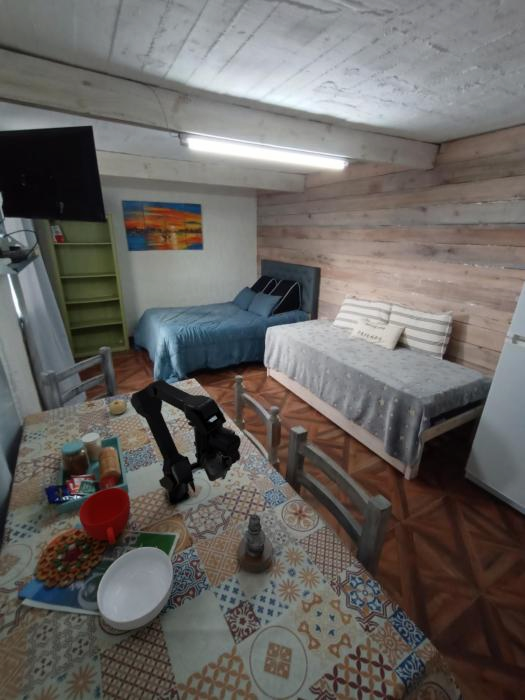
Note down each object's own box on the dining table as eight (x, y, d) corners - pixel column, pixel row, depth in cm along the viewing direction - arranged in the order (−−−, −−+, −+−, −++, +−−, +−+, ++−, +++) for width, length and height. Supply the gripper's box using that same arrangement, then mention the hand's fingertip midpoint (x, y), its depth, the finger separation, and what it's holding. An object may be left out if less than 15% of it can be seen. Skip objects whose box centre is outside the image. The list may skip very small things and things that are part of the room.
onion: (107, 411, 153) (105, 398, 151) (124, 405, 158) (122, 393, 156) (113, 418, 148) (110, 405, 145) (130, 412, 153) (128, 399, 150)
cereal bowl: (177, 627, 71) (174, 607, 68) (96, 654, 66) (89, 633, 64) (174, 556, 86) (171, 538, 83) (108, 574, 82) (103, 555, 79)
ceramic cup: (89, 572, 82) (81, 545, 78) (84, 524, 95) (77, 499, 92) (141, 547, 88) (136, 521, 85) (129, 505, 102) (124, 481, 98)
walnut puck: (249, 580, 80) (249, 571, 79) (233, 551, 87) (232, 542, 86) (278, 561, 85) (278, 552, 84) (260, 535, 92) (260, 527, 91)
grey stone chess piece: (258, 561, 81) (258, 528, 77) (239, 550, 84) (238, 517, 80) (269, 543, 86) (270, 511, 82) (251, 533, 89) (251, 501, 84)
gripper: (183, 472, 76) (188, 519, 82) (249, 445, 86) (250, 489, 91) (168, 447, 85) (174, 491, 91) (230, 425, 94) (232, 466, 100)
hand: (208, 484), depth 93 cm, fingers open, 9 cm apart
